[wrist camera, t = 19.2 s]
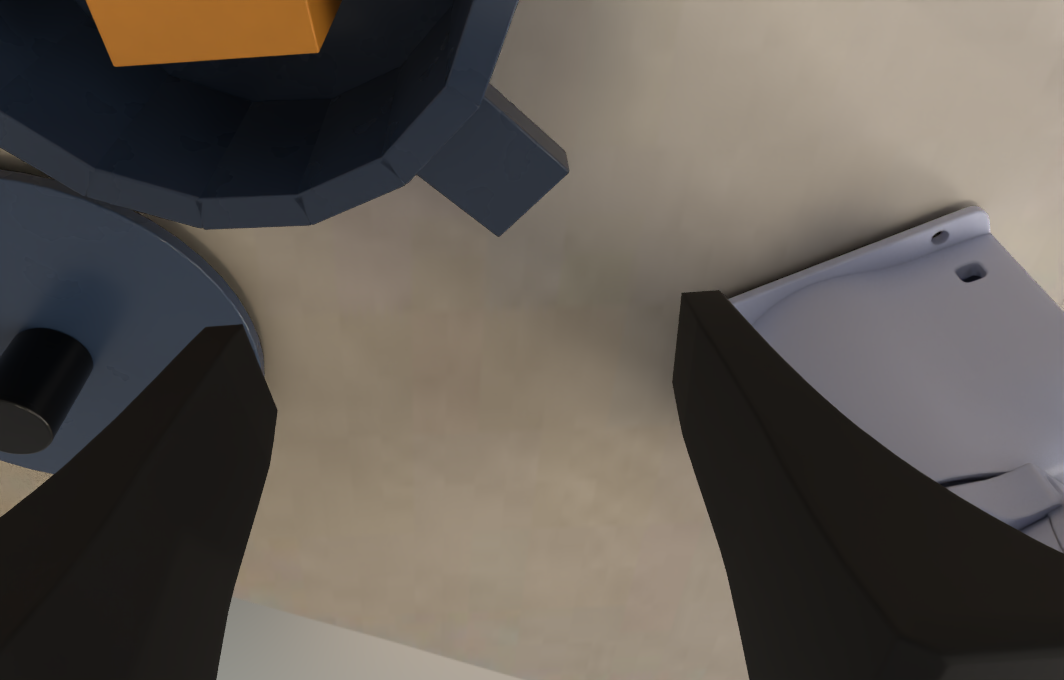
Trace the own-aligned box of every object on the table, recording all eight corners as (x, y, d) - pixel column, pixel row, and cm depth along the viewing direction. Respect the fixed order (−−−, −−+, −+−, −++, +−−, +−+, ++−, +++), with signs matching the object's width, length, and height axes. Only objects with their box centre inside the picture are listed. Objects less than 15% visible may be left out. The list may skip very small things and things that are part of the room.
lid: (-88, 59, 19) (-205, 136, 16) (343, 320, 25) (322, 413, 22) (-213, 345, 25) (-318, 444, 21) (162, 499, 31) (125, 593, 28)
